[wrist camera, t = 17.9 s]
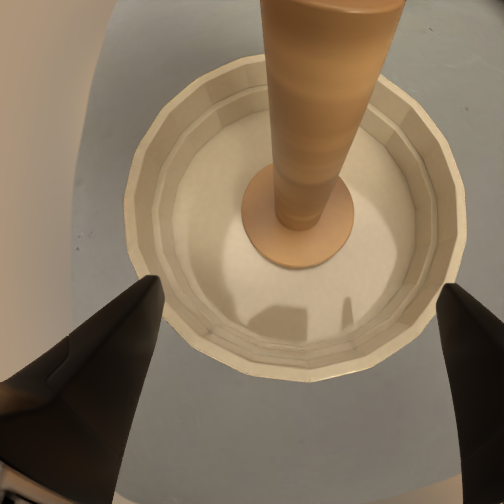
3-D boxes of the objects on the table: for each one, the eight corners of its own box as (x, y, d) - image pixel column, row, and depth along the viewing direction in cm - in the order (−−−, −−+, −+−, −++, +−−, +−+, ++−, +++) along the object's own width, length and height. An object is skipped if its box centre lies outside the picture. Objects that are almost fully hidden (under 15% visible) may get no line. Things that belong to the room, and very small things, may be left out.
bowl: (413, 368, 16) (452, 386, 11) (142, 335, 18) (100, 343, 13) (419, 122, 19) (447, 80, 14) (189, 96, 20) (169, 50, 15)
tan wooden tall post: (369, 233, 17) (550, 65, 3) (279, 290, 17) (276, 218, 3) (312, 149, 18) (345, -88, 4) (224, 198, 18) (106, -24, 4)
